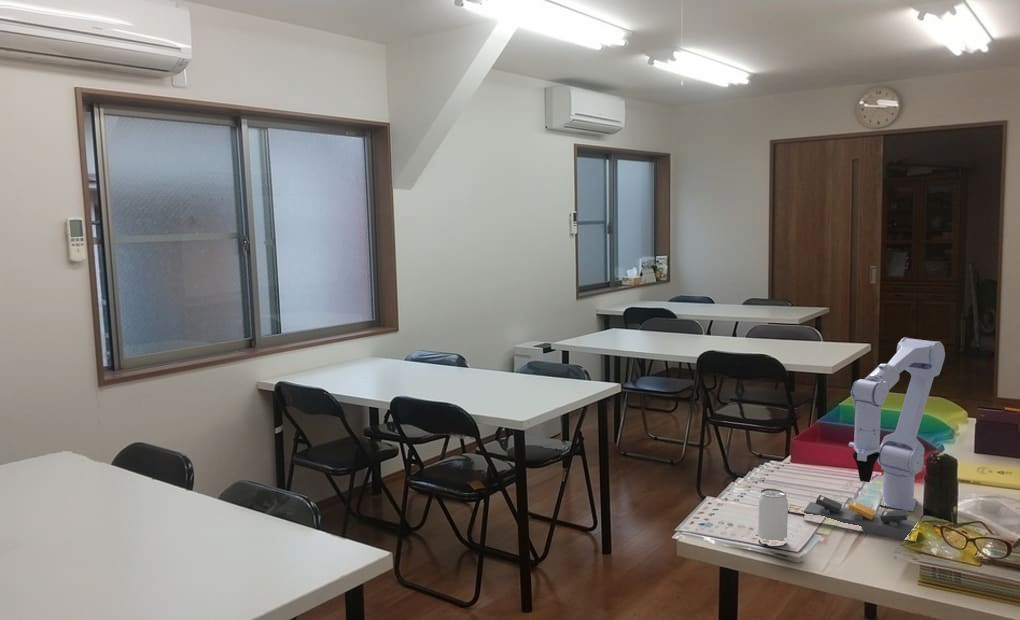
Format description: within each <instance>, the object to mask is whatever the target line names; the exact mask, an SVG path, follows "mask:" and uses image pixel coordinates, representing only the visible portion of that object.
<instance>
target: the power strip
mask: <svg viewBox="0 0 1020 620" xmlns="http://www.w3.org/2000/svg"><path fill="white" fill-rule="evenodd" d="M815 503H816V502H813V501H809V502H808V504H807V506H806V507H805V508H804V510H803V511H804V513H806V514H813V515H821V516H825V517H827V518H831V519H834V520H837V521H840V522H843V523H848V524H853V525H859V526H861V527H862V529H863V531H864V532H863V533H865V532H866V533H865V534H870V535H871V534H872V535H875V536H880V537H881V536H882V537H885V538H891V539H895V540H896V539H897V540H899V541H900V540H901V541H905V540H904V539H905V538H906V537H907V535H908V534H909V533H910V532H911V530H912V529H913V528H914V526H915V525H916V523H917V522H918V521H917V520H911V519H907V520H904V521H897V522H893V521H881V518H880V516H881V514H877V513H875V514H874V516H873V518H872V520H871V519H868V518H866V517H864V516H860V515H857V513H855V512H853V511H851V510H849V509H848V508H845V507H841V510H840V511H839V513H836V512H834V511H832V510H828V509H824V507H822V506H820V505H818V504H815Z"/></svg>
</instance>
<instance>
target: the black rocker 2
mask: <svg viewBox="0 0 1020 620" xmlns="http://www.w3.org/2000/svg"><path fill="white" fill-rule="evenodd" d="M880 515H881V516H880V518H881V521H893V522H897V521H904V520H909V511H908V510H888V511H887V510H885V511H883V510H882V511H881V513H880Z"/></svg>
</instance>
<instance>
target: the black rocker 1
mask: <svg viewBox="0 0 1020 620" xmlns="http://www.w3.org/2000/svg"><path fill="white" fill-rule="evenodd" d="M814 503H815V504H818V505H820V506H822V507H824V509H828V510H832V511H834V512H836V513H839V511H840V510H841V508H843V503H840V502H837V501H836V500H835V499H834V500H833V499H832V498H829V497H826V496H824V495H822V494H819V495H818V497H817V498H816V501H815V502H814Z"/></svg>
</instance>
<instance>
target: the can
mask: <svg viewBox="0 0 1020 620" xmlns="http://www.w3.org/2000/svg"><path fill="white" fill-rule="evenodd" d="M757 508H758V509H757V511H758V513H757V514H758V515H757V516H758V517H757V521H758V522H757V537H758V536H759V537H760V538H762V539H766V540H782V539H784V538H786V537H787V538H788V515H789V512H788V508H789V500H788V498H787V493H786V492H785V491H784V490H782V489H777V488H763V489H761V490H760V494H759V496H758V507H757Z"/></svg>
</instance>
